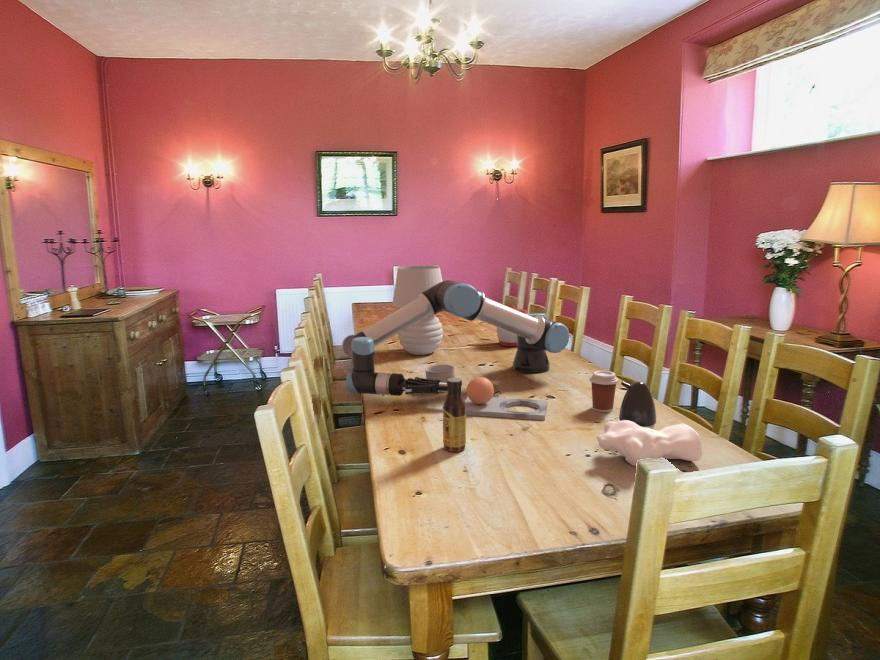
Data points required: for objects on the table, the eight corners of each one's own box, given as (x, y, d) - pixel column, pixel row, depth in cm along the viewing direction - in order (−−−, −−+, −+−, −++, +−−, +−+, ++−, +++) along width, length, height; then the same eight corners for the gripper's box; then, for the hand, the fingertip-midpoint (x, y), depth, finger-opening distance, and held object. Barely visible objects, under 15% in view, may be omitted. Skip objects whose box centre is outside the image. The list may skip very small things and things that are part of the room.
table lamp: (457, 350, 272) (456, 266, 265) (428, 361, 251) (426, 270, 244) (414, 344, 286) (412, 264, 278) (383, 354, 265) (379, 268, 257)
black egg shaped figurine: (625, 423, 173) (628, 374, 170) (660, 430, 166) (663, 380, 164) (612, 433, 165) (614, 382, 162) (648, 441, 159) (651, 389, 156)
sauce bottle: (442, 444, 159) (441, 376, 155) (464, 443, 159) (464, 375, 155) (444, 454, 152) (443, 382, 148) (467, 453, 153) (467, 381, 149)
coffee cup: (582, 406, 189) (583, 371, 186) (604, 402, 192) (606, 368, 190) (600, 415, 180) (601, 378, 178) (623, 411, 184) (625, 375, 182)
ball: (488, 398, 194) (488, 372, 192) (498, 406, 186) (498, 379, 184) (463, 401, 192) (462, 375, 190) (471, 409, 183) (471, 382, 181)
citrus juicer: (493, 341, 291) (493, 302, 287) (527, 341, 289) (528, 302, 285) (491, 347, 276) (491, 307, 272) (528, 348, 273) (528, 307, 270)
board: (459, 414, 183) (459, 409, 183) (468, 400, 197) (468, 395, 197) (544, 420, 177) (544, 415, 176) (547, 404, 191) (547, 400, 191)
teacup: (451, 393, 205) (451, 371, 204) (422, 392, 207) (422, 370, 206) (458, 382, 219) (458, 362, 217) (430, 381, 221) (430, 361, 219)
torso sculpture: (669, 448, 157) (583, 446, 154) (674, 414, 155) (587, 412, 152) (707, 477, 140) (610, 476, 136) (713, 439, 138) (616, 437, 135)
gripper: (396, 389, 202) (462, 393, 196) (384, 400, 189) (454, 405, 184) (396, 368, 200) (462, 371, 195) (384, 378, 188) (454, 382, 182)
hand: (458, 388), depth 189 cm, fingers closed
